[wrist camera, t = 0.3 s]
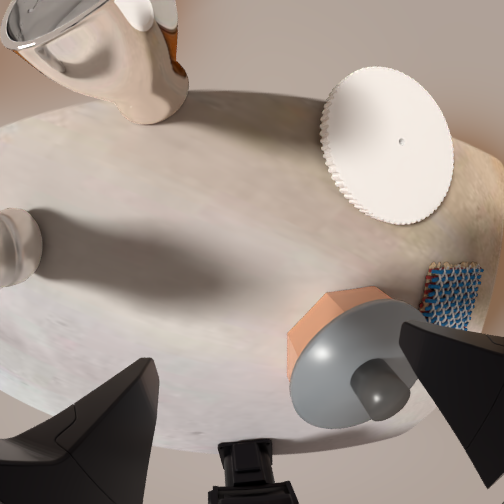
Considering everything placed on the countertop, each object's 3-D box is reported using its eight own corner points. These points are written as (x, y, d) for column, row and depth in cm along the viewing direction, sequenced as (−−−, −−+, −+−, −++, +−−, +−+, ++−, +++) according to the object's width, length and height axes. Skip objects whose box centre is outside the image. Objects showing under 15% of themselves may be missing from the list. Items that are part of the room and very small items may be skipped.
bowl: (385, 376, 27) (403, 398, 23) (286, 399, 26) (296, 428, 21) (402, 281, 24) (430, 297, 20) (287, 297, 23) (301, 321, 19)
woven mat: (457, 334, 28) (466, 340, 26) (402, 346, 27) (412, 355, 25) (476, 260, 26) (487, 264, 24) (424, 259, 25) (436, 265, 23)
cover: (407, 401, 23) (428, 428, 18) (287, 435, 22) (298, 472, 17) (437, 287, 20) (474, 307, 15) (290, 312, 18) (310, 350, 14)
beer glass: (117, 62, 17) (29, -35, 2) (196, 51, 18) (175, -86, 3) (110, 135, 18) (-24, 83, 4) (193, 126, 19) (143, 14, 5)
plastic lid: (315, 219, 22) (326, 223, 20) (311, 62, 19) (321, 50, 17) (436, 222, 24) (452, 226, 21) (431, 94, 20) (446, 89, 18)
